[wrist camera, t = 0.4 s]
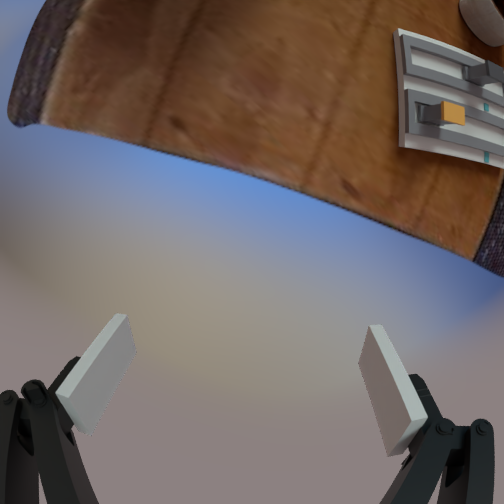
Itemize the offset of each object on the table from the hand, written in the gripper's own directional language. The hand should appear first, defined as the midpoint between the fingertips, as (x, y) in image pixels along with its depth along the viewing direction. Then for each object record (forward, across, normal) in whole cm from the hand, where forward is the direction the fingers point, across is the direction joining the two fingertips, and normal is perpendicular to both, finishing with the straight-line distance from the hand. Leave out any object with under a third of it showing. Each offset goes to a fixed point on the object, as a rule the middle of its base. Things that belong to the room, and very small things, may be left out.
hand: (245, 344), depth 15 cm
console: (+26, +30, +21) cm, 45 cm away
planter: (+27, +39, +40) cm, 62 cm away
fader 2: (+24, +32, +25) cm, 47 cm away
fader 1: (+24, +23, +17) cm, 37 cm away
